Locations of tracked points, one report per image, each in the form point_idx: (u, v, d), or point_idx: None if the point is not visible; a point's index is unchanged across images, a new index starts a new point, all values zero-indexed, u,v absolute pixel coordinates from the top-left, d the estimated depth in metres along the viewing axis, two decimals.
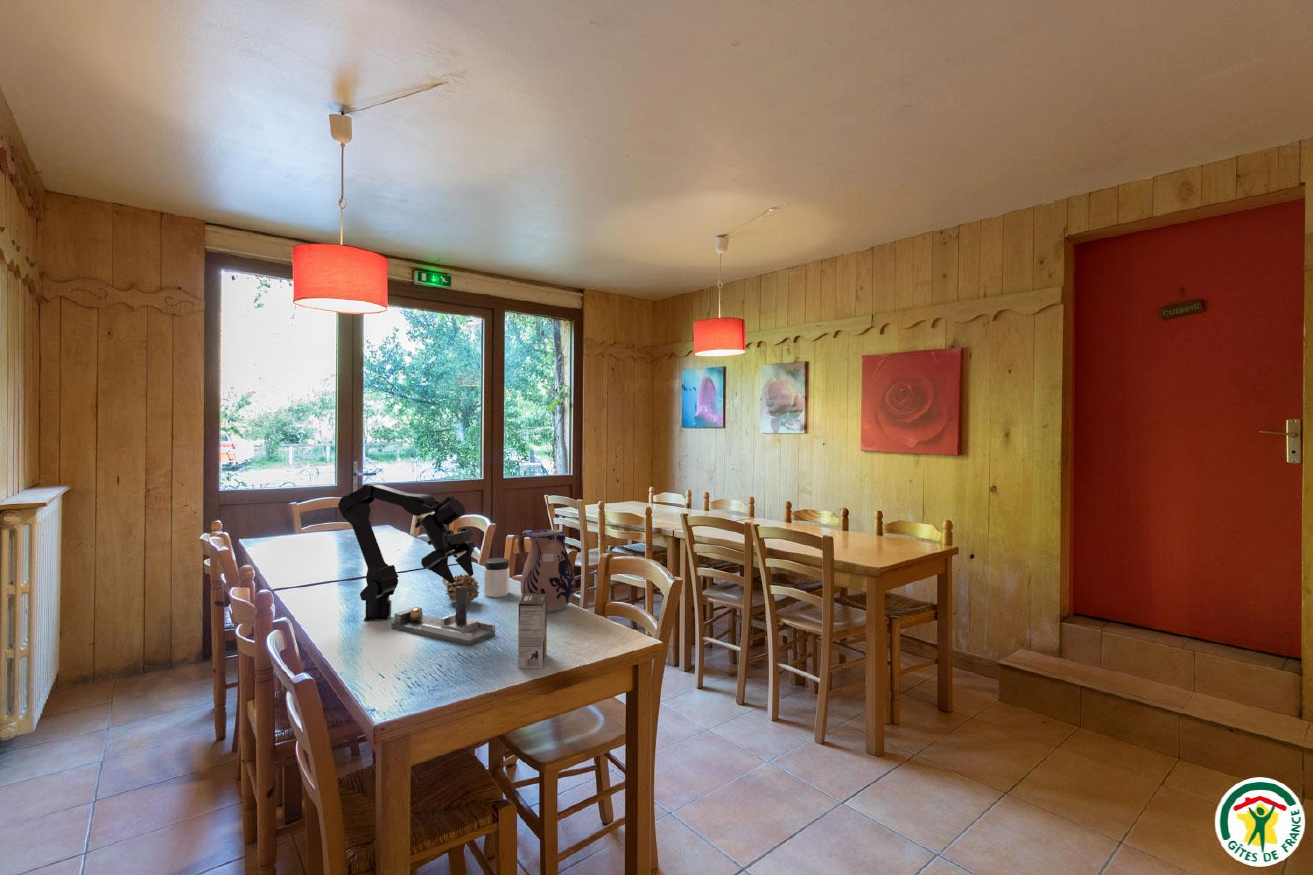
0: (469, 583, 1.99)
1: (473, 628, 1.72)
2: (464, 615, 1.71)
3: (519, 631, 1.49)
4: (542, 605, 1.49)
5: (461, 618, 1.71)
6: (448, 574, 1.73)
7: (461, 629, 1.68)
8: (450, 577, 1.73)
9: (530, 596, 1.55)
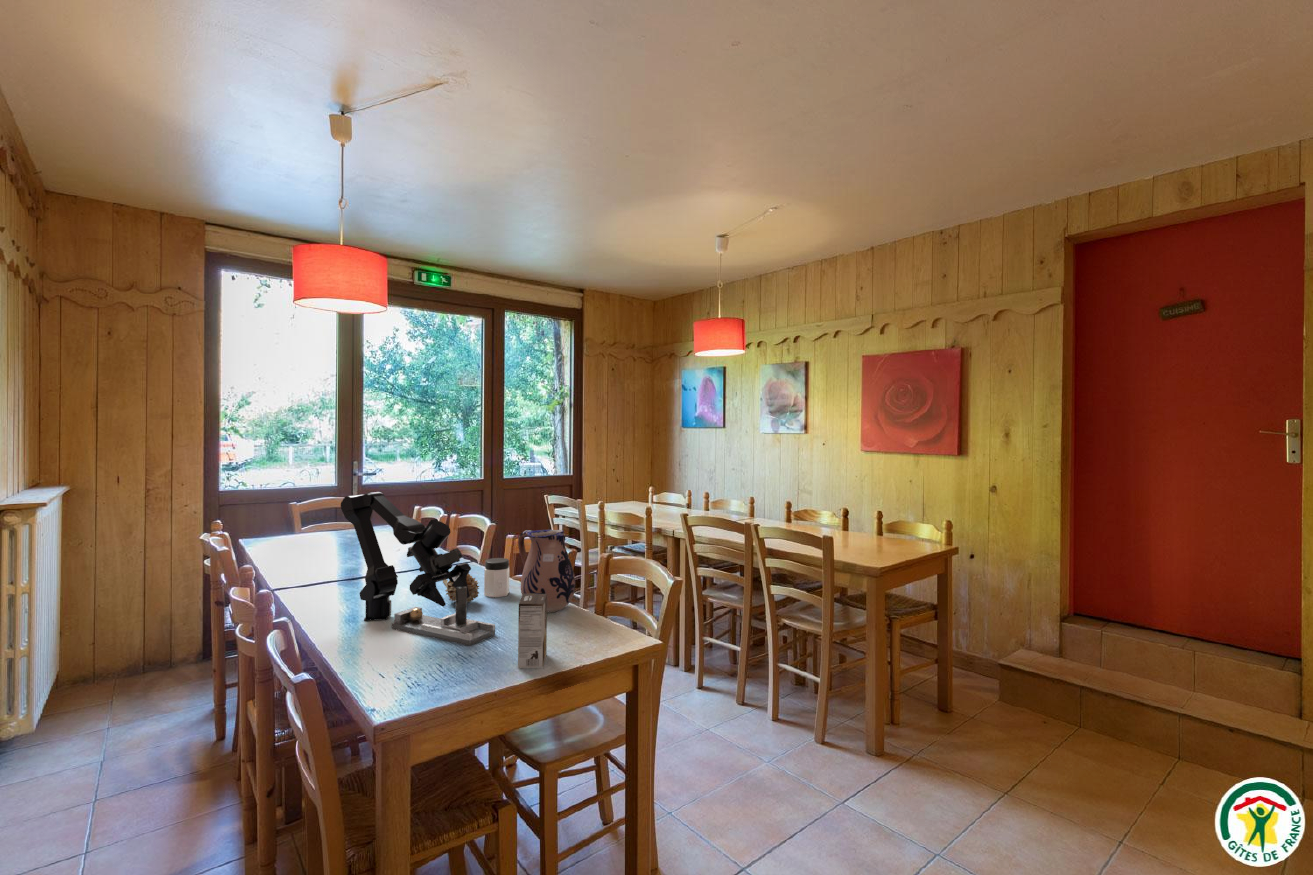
0: (469, 583, 1.99)
1: (473, 628, 1.72)
2: (464, 615, 1.71)
3: (519, 631, 1.49)
4: (542, 605, 1.49)
5: (461, 618, 1.71)
6: (438, 597, 1.68)
7: (461, 629, 1.68)
8: (440, 600, 1.68)
9: (530, 596, 1.55)
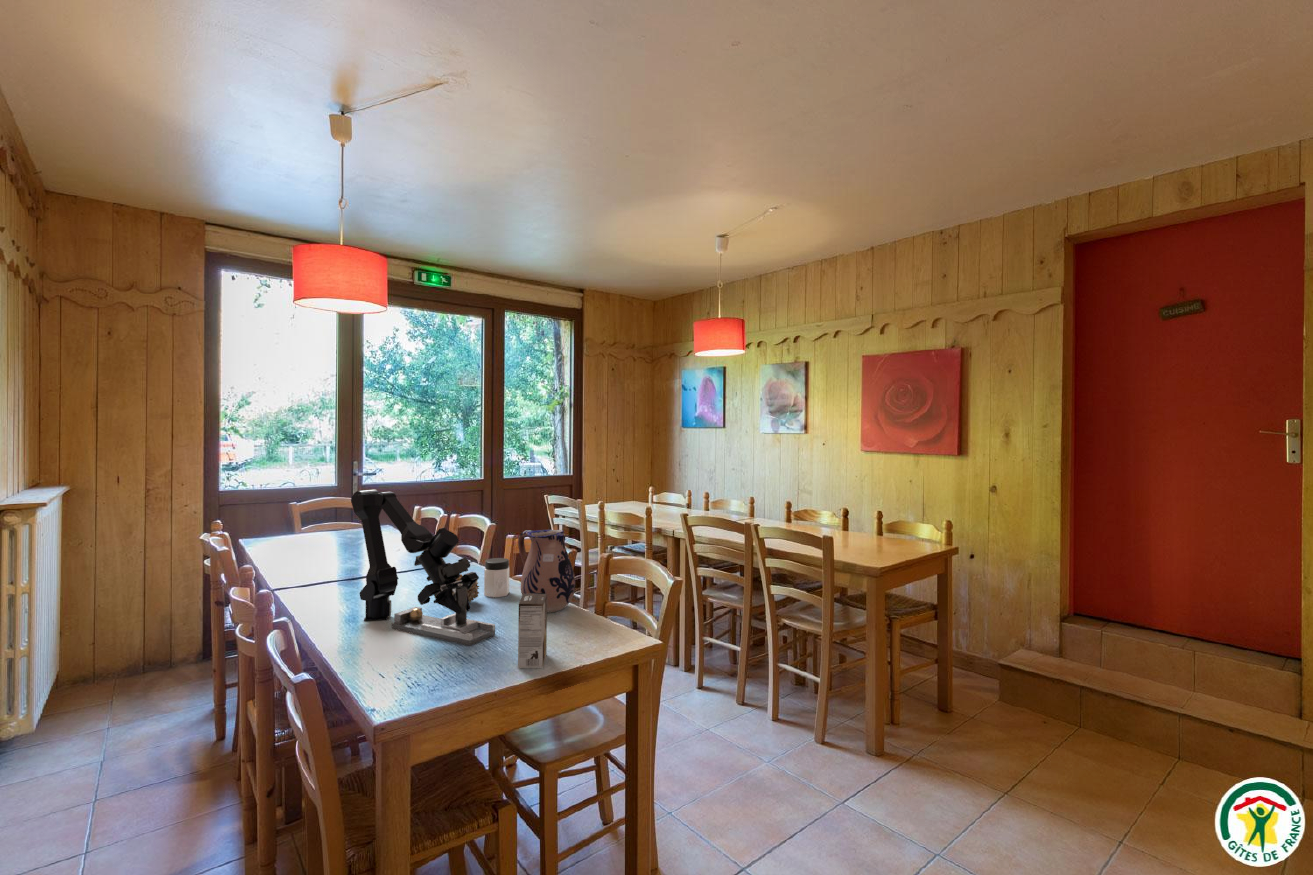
0: None
1: (473, 628, 1.72)
2: (464, 615, 1.71)
3: (519, 631, 1.49)
4: (542, 605, 1.49)
5: (461, 618, 1.71)
6: (454, 605, 1.69)
7: (461, 629, 1.68)
8: (456, 607, 1.69)
9: (530, 596, 1.55)
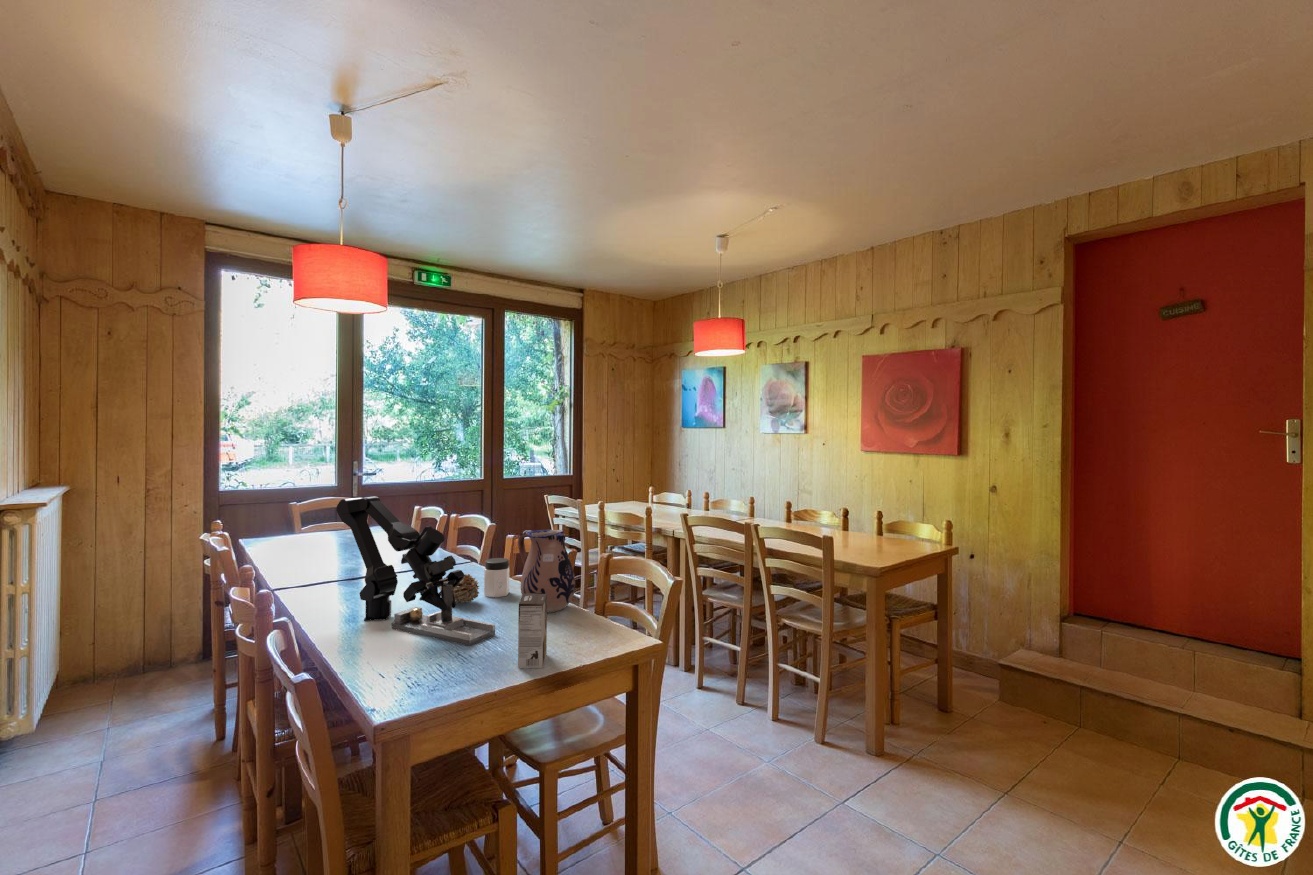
0: (469, 583, 1.99)
1: (458, 625, 1.75)
2: (450, 612, 1.73)
3: (519, 631, 1.49)
4: (542, 605, 1.49)
5: (447, 615, 1.73)
6: (439, 602, 1.72)
7: (446, 626, 1.70)
8: (442, 605, 1.72)
9: (530, 596, 1.55)
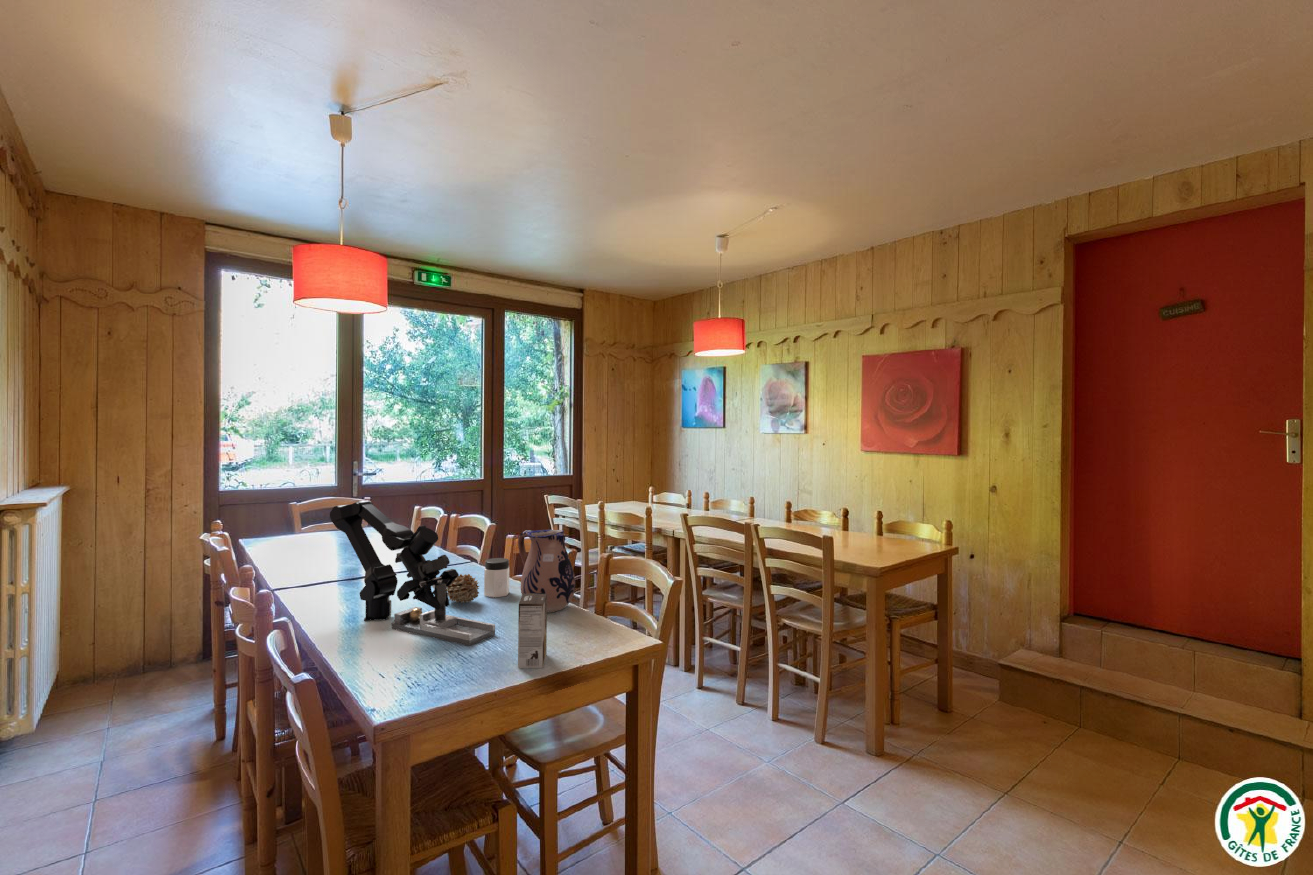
0: (469, 583, 1.99)
1: (452, 624, 1.76)
2: (443, 611, 1.75)
3: (519, 631, 1.49)
4: (542, 605, 1.49)
5: (440, 614, 1.74)
6: (433, 601, 1.73)
7: (440, 624, 1.72)
8: (435, 603, 1.73)
9: (530, 596, 1.55)
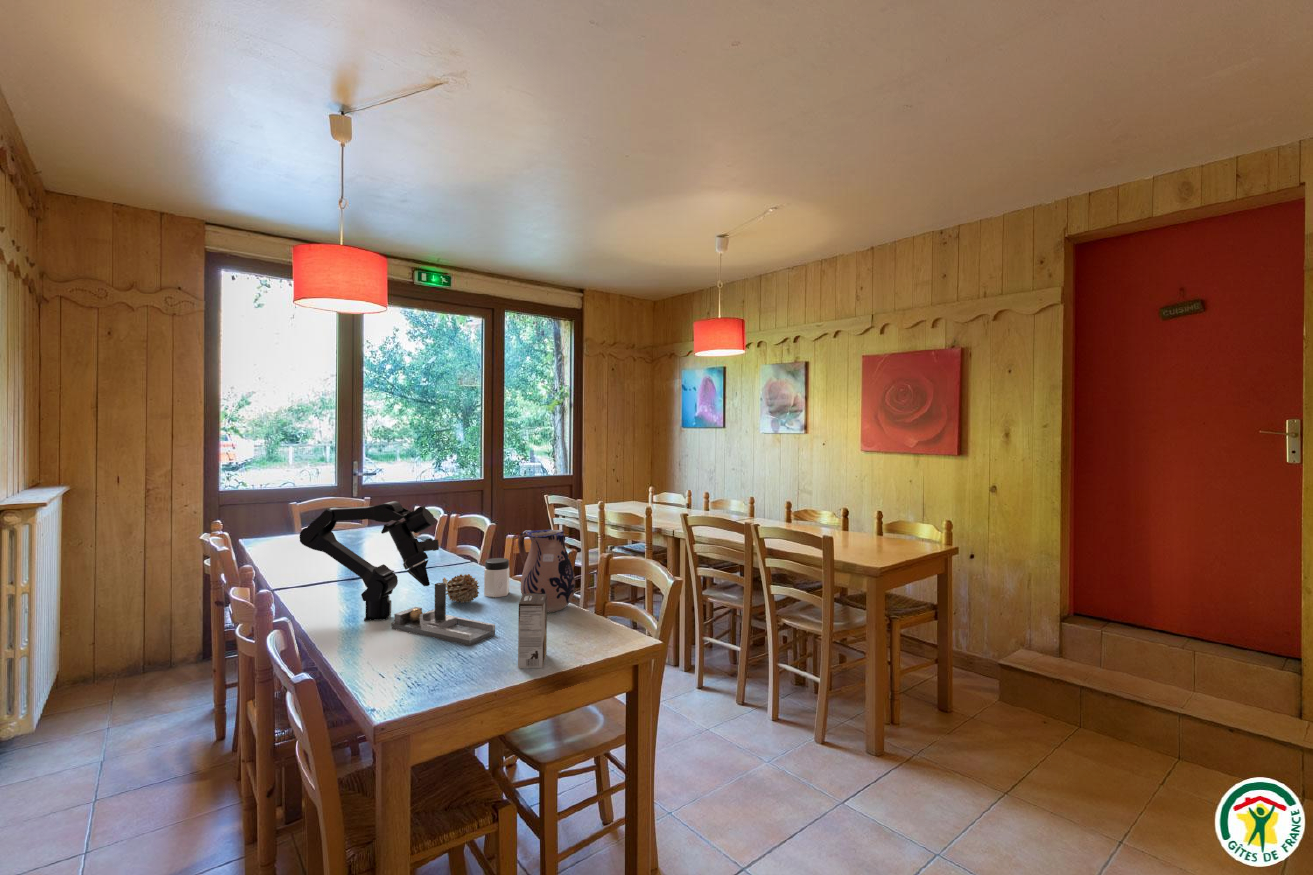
0: (469, 583, 1.99)
1: (452, 624, 1.76)
2: (443, 611, 1.75)
3: (519, 631, 1.49)
4: (542, 605, 1.49)
5: (440, 614, 1.74)
6: (426, 576, 1.81)
7: (440, 624, 1.72)
8: (427, 579, 1.82)
9: (530, 596, 1.55)
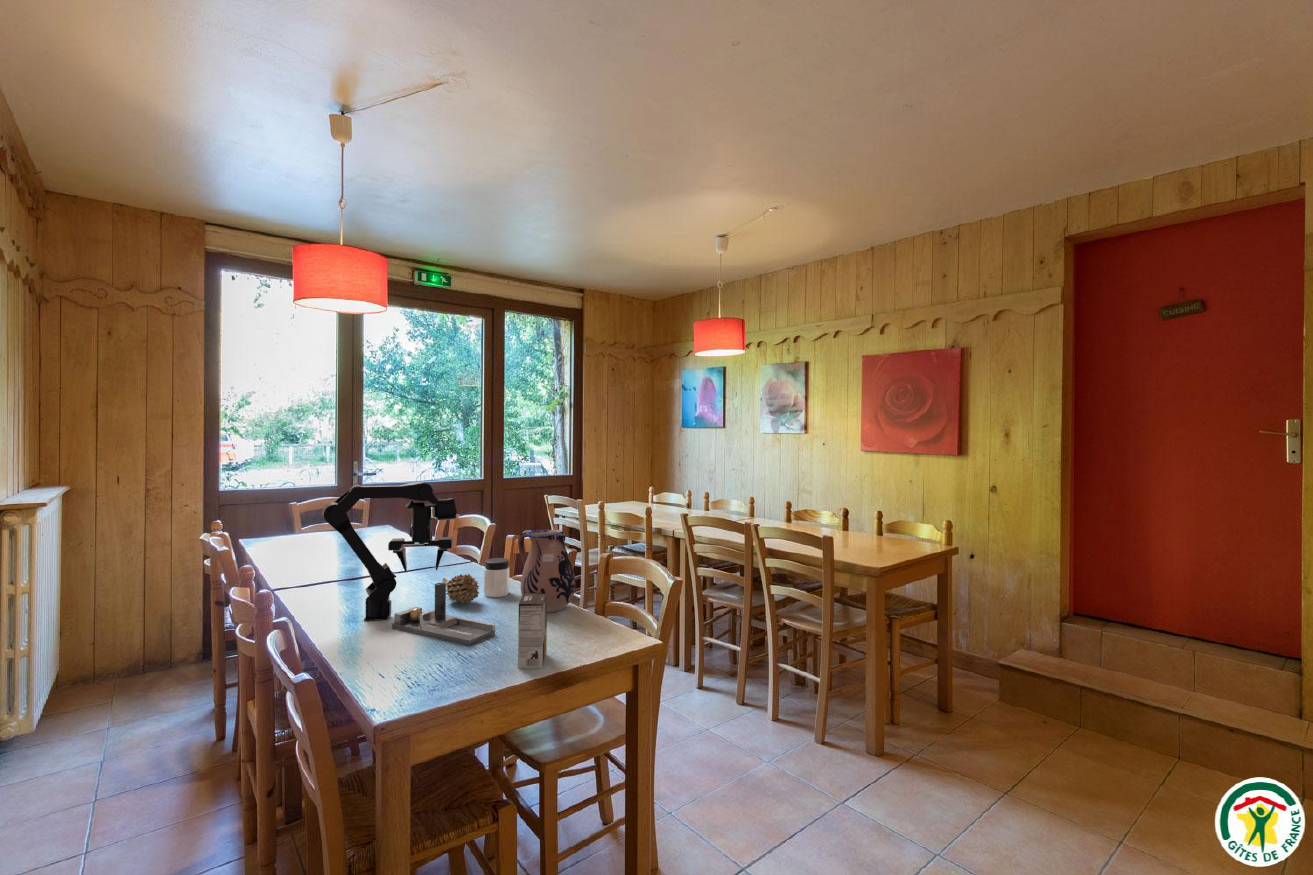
0: (469, 583, 1.99)
1: (452, 624, 1.76)
2: (443, 611, 1.75)
3: (519, 631, 1.49)
4: (542, 605, 1.49)
5: (440, 614, 1.74)
6: None
7: (440, 624, 1.72)
8: None
9: (530, 596, 1.55)
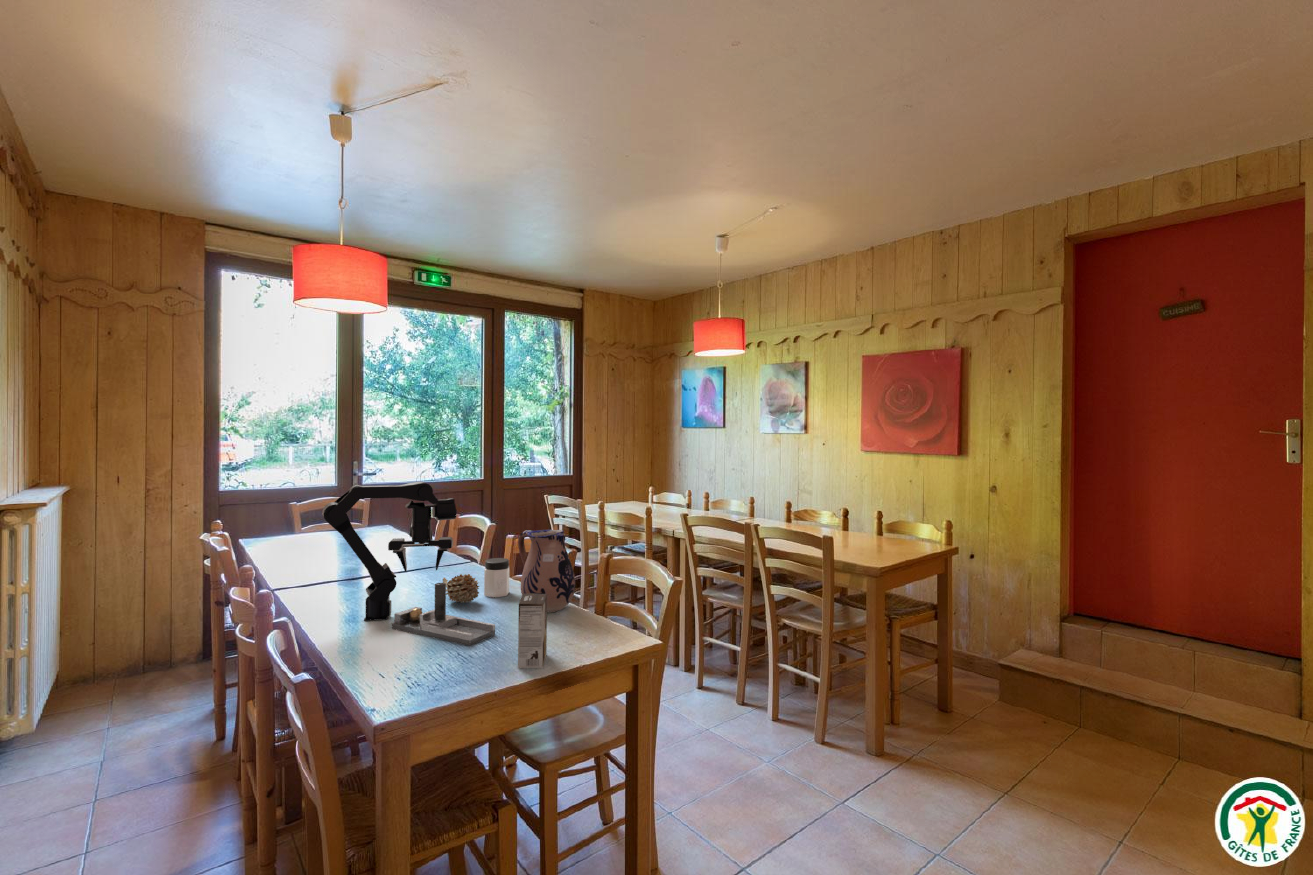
0: (469, 583, 1.99)
1: (452, 624, 1.76)
2: (443, 611, 1.75)
3: (519, 631, 1.49)
4: (542, 605, 1.49)
5: (440, 614, 1.74)
6: None
7: (440, 624, 1.72)
8: None
9: (530, 596, 1.55)
